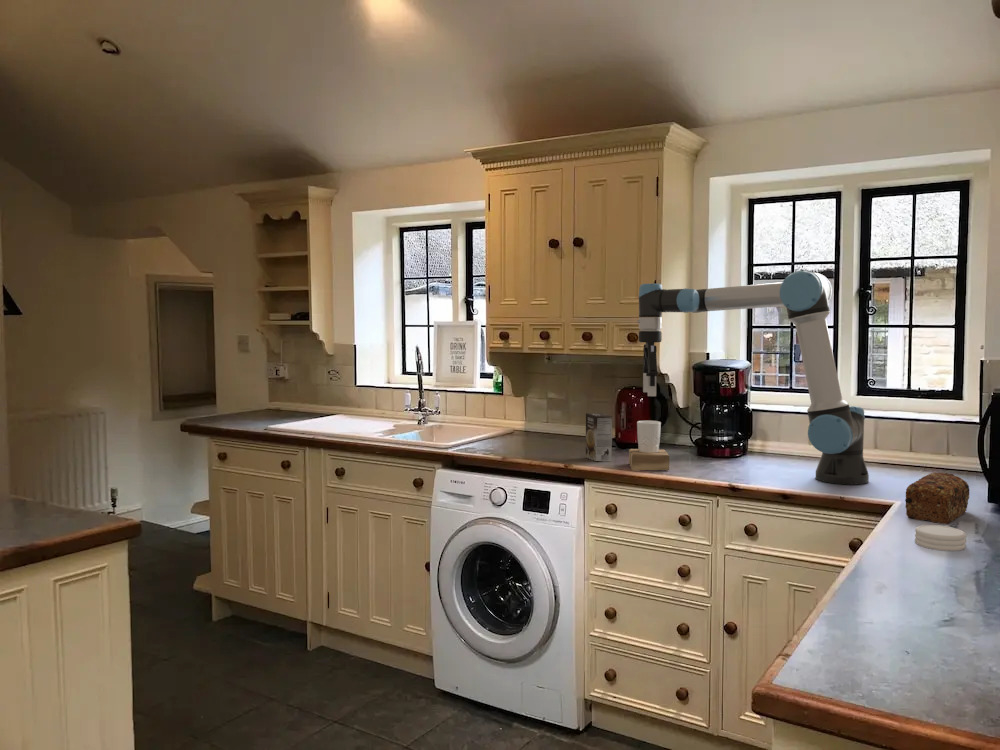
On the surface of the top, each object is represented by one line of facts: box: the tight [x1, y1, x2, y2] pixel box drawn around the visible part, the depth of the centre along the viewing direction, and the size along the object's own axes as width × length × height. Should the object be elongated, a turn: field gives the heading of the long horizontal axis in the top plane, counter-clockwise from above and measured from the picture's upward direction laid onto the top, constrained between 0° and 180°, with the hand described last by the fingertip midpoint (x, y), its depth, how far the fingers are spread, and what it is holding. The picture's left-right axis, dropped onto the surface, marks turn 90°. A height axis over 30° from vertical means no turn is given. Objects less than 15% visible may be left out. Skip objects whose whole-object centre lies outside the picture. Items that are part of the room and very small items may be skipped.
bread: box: [904, 472, 970, 525], centre depth 206 cm, size 19×11×10 cm, turn 136°
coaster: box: [914, 524, 967, 552], centre depth 179 cm, size 10×10×4 cm
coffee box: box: [585, 412, 613, 462], centre depth 286 cm, size 9×6×16 cm
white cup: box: [636, 420, 662, 453], centre depth 272 cm, size 8×8×10 cm
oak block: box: [628, 448, 670, 472], centre depth 272 cm, size 12×12×5 cm
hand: (649, 394), depth 270 cm, fingers open, 13 cm apart
